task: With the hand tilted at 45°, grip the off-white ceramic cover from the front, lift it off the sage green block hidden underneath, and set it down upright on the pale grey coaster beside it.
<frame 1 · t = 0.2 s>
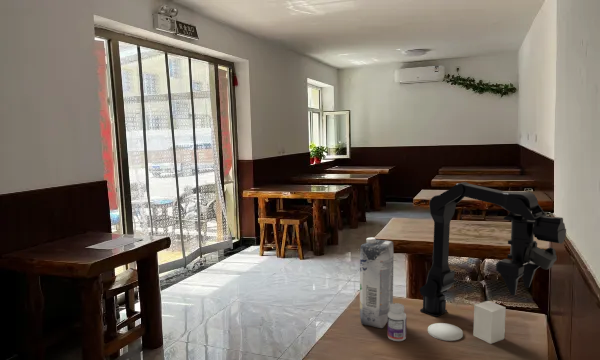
hand: (520, 291, 129), 15 cm above the table, tool pointing down, fingers open, 9 cm apart
juice carton: (376, 322, 145), on the table
pill bottle: (396, 338, 134), on the table
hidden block: (488, 332, 133), in the cover
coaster: (445, 332, 136), on the table
cover: (488, 337, 133), on the table
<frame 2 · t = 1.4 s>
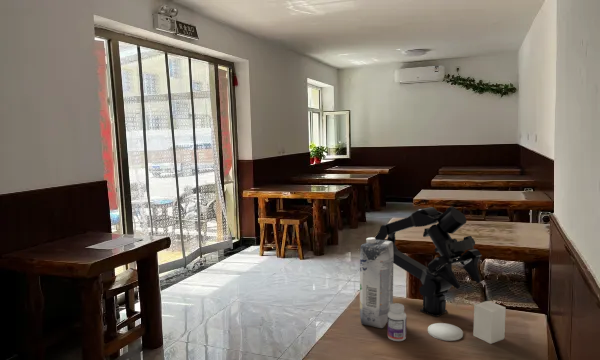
hand: (469, 285, 138), 13 cm above the table, tool tilted 45°, fingers open, 9 cm apart
nothing on the table moved.
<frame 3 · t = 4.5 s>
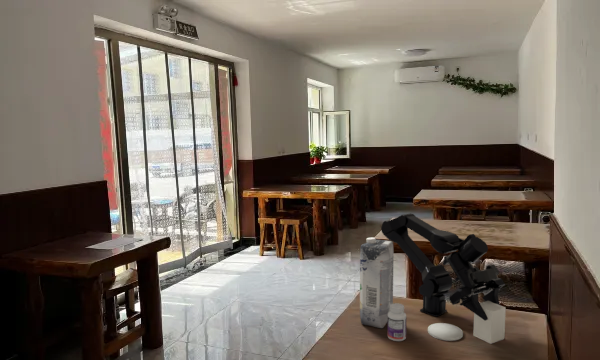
hand: (493, 317, 131), 7 cm above the table, tool tilted 45°, fingers closed on cover, 6 cm apart
cover: (488, 337, 133), on the table, touching gripper
everything else where it was.
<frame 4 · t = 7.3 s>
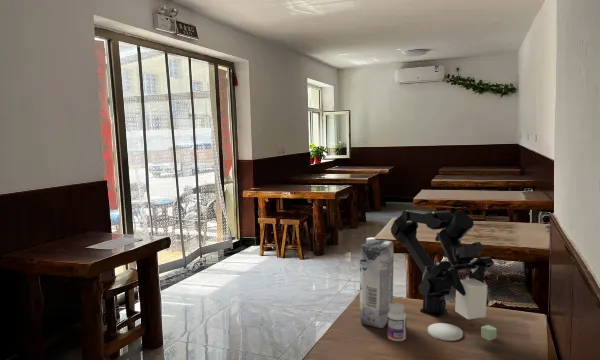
hand: (474, 294, 131), 14 cm above the table, tool tilted 45°, fingers closed on cover, 6 cm apart
cover: (470, 313, 133), point 7 cm above the table, touching gripper
everything else where it was.
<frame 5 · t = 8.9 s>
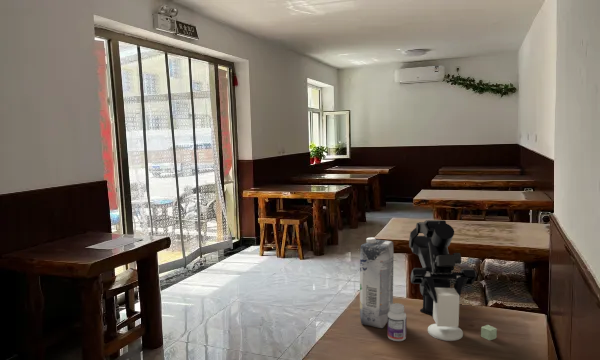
hand: (447, 302, 134), 10 cm above the table, tool tilted 45°, fingers closed on cover, 6 cm apart
cover: (445, 322, 136), point 3 cm above the table, touching gripper
everything else where it was.
when the fingers open (9 cm above the table, at t = 10.1 s): cover drops 1 cm, resting on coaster.
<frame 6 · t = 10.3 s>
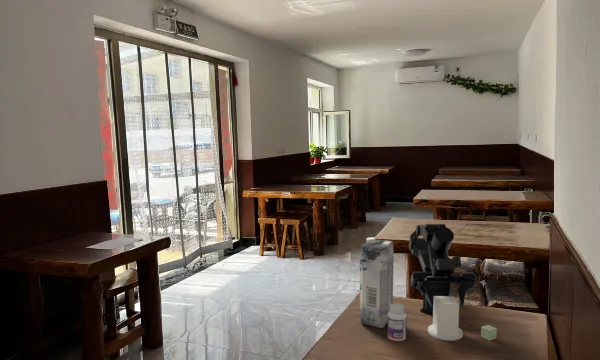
hand: (447, 306, 134), 9 cm above the table, tool tilted 45°, fingers open, 8 cm apart
cover: (445, 330, 136), point 1 cm above the table, touching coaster
everything else where it was.
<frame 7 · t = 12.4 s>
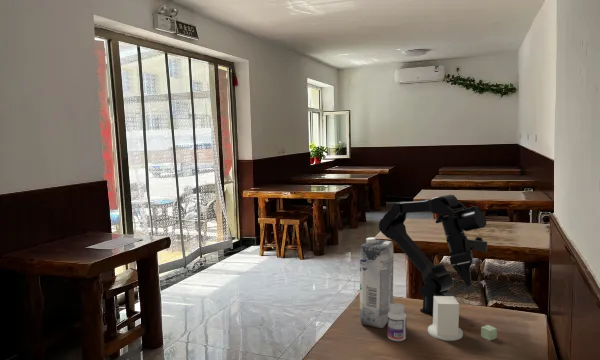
hand: (469, 283, 140), 13 cm above the table, tool tilted 20°, fingers open, 9 cm apart
nothing on the table moved.
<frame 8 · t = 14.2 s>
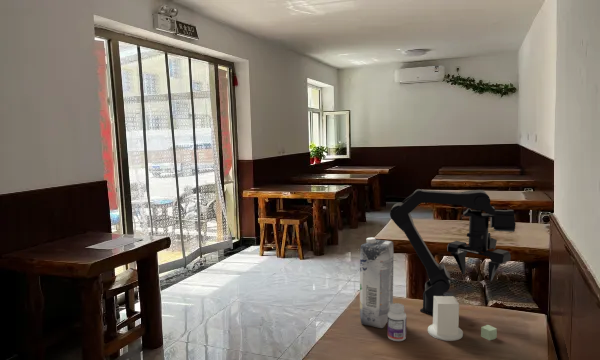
hand: (476, 277, 146), 13 cm above the table, tool pointing down, fingers open, 9 cm apart
nothing on the table moved.
at the end: cover 0.0 cm off-centre on the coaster, point 0.8 cm above the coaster's base; cover tilted 0°; the gripper is holding nothing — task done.
